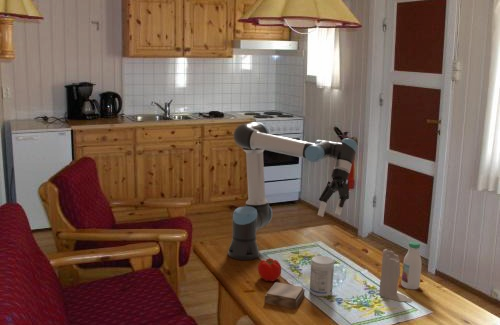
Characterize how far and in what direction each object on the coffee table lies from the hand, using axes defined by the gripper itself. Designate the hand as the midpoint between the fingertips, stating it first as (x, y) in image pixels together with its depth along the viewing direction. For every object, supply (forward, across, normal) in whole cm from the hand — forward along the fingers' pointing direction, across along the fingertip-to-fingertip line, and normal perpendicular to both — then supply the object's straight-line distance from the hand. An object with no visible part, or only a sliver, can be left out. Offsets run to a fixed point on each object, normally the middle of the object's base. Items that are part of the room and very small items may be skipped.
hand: (328, 214), depth 239 cm
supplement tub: (+34, -4, -4) cm, 34 cm away
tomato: (+34, +15, +11) cm, 39 cm away
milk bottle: (+18, -13, -42) cm, 48 cm away
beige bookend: (+26, -19, -31) cm, 44 cm away
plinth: (+42, -5, +11) cm, 43 cm away
